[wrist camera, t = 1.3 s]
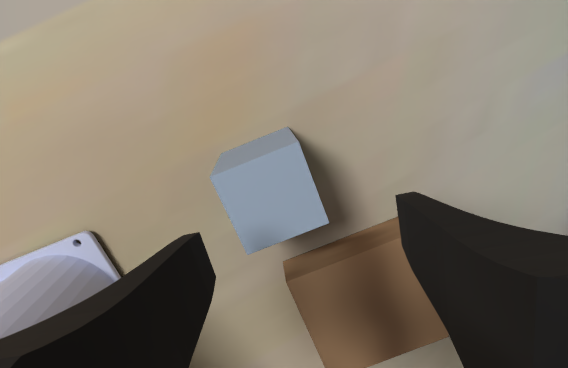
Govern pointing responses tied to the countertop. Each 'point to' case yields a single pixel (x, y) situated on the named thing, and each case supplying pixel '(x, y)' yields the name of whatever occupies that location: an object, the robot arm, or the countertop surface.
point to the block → (268, 190)
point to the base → (362, 299)
